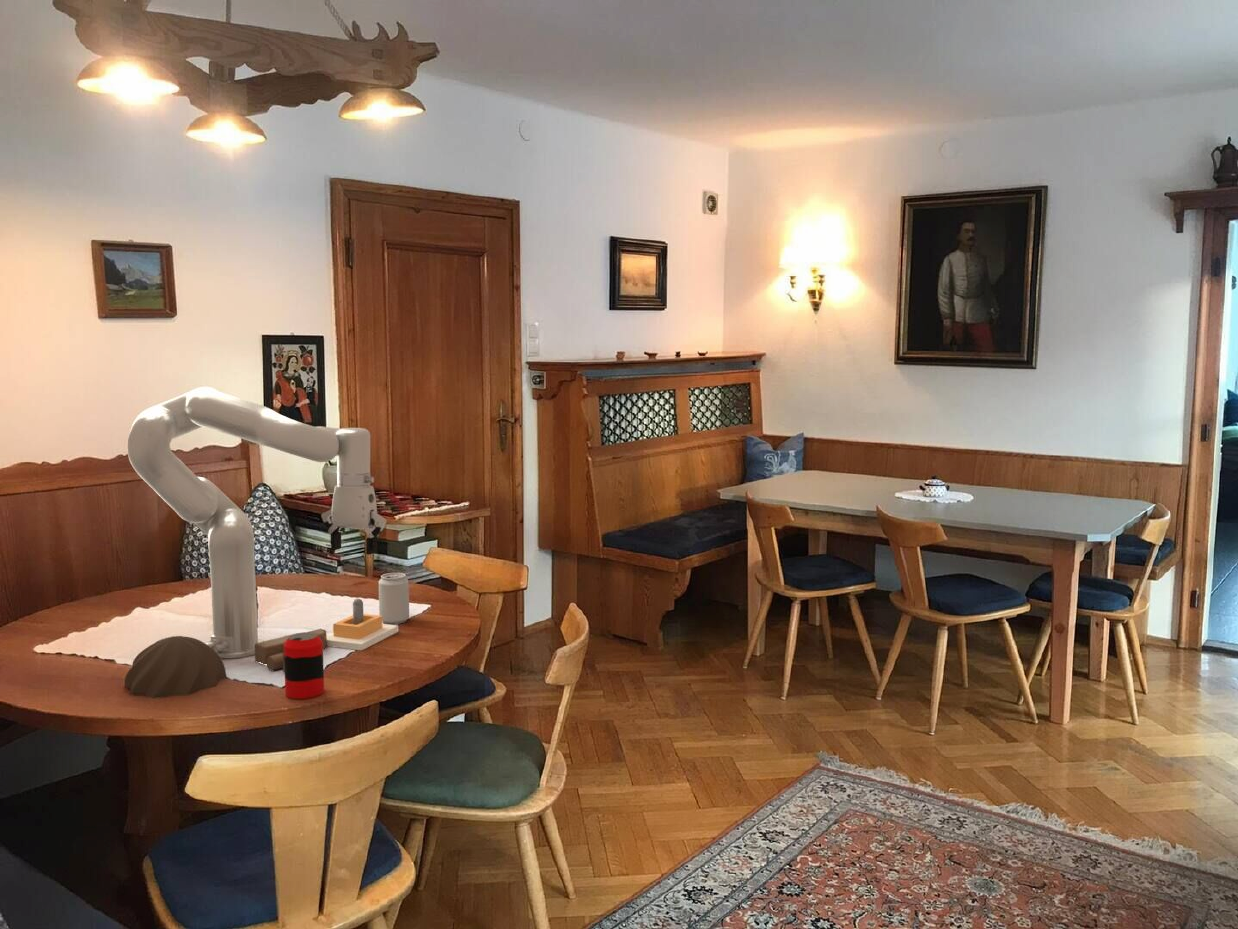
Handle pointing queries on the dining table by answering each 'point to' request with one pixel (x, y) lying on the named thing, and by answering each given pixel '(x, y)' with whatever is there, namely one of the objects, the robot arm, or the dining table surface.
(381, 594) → the can
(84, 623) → the dining table surface
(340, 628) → the shallow wooden tray
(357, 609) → the stand
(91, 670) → the dining table surface
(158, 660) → the decorative dome
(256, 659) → the wooden block set
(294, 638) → the soda can
